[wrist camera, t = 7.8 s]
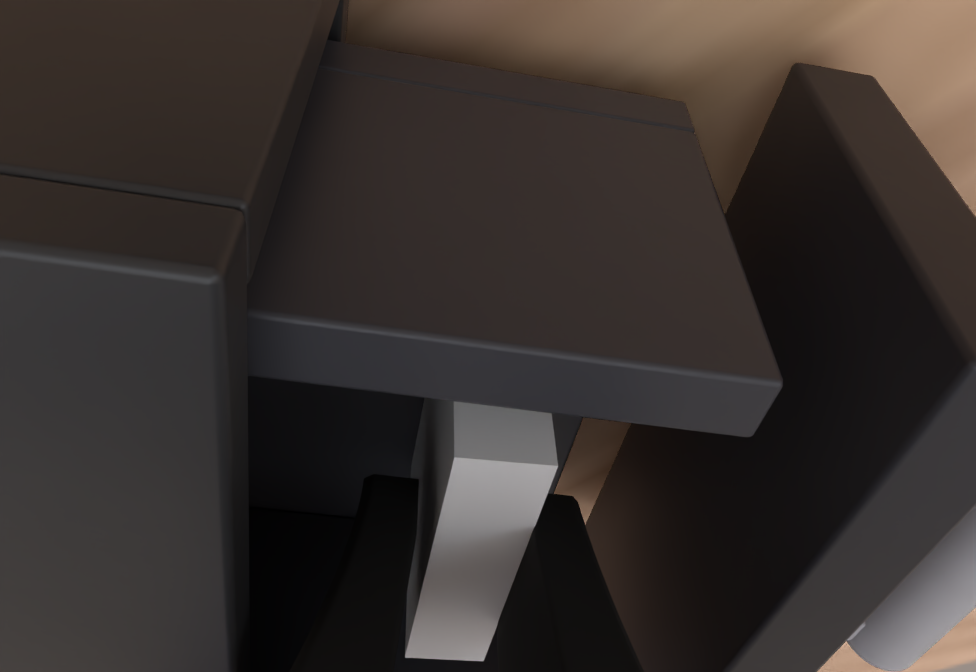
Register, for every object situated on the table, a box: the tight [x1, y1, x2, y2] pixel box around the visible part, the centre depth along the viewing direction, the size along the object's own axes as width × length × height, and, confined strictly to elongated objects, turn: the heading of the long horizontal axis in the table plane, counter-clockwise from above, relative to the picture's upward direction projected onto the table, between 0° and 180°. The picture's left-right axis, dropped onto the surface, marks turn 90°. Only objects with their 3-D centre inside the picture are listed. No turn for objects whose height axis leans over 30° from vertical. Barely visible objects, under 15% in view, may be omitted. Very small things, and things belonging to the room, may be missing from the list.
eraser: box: [405, 398, 558, 661], centre depth 13 cm, size 1×5×4 cm, turn 169°
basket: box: [247, 40, 976, 672], centre depth 13 cm, size 18×11×6 cm, turn 79°
